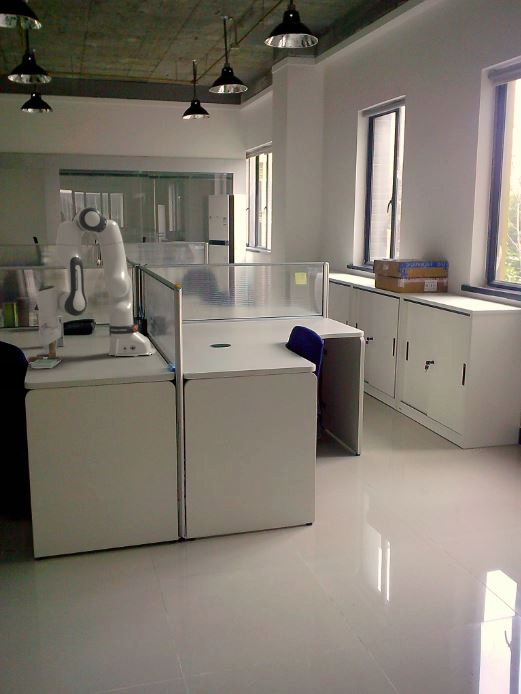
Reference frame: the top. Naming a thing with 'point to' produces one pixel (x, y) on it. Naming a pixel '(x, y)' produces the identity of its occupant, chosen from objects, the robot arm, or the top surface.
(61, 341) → the skincare box
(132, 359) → the top surface
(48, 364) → the tray
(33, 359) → the block
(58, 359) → the socket
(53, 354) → the dowel
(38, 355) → the steel block
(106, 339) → the top surface
